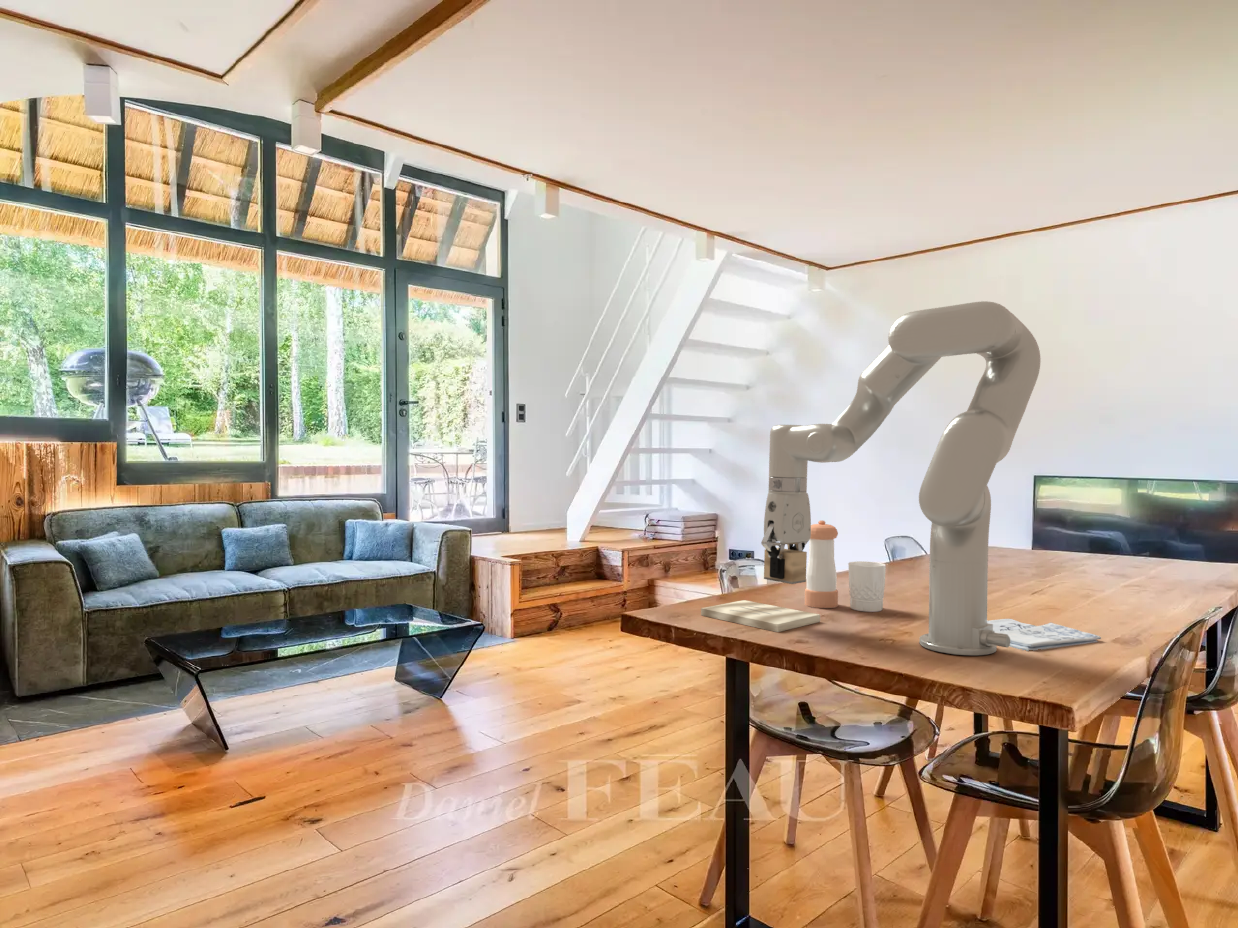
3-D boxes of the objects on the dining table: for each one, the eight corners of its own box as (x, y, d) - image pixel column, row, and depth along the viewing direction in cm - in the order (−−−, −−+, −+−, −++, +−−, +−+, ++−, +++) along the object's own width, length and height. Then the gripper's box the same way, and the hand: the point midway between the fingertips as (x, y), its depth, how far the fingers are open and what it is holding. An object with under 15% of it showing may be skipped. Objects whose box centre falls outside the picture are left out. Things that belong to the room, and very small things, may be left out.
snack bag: (1028, 655, 137) (1028, 642, 137) (940, 630, 155) (940, 619, 155) (1103, 645, 144) (1103, 633, 144) (1011, 622, 163) (1011, 612, 163)
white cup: (847, 611, 170) (848, 565, 170) (848, 604, 178) (848, 560, 178) (885, 613, 168) (886, 567, 168) (884, 606, 176) (885, 562, 175)
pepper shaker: (841, 608, 173) (842, 522, 173) (808, 608, 174) (809, 521, 173) (833, 601, 181) (834, 519, 180) (801, 601, 181) (802, 519, 181)
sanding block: (805, 581, 156) (806, 551, 156) (792, 584, 153) (793, 553, 153) (777, 576, 162) (778, 547, 162) (763, 578, 159) (764, 549, 159)
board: (820, 621, 160) (820, 614, 160) (777, 632, 151) (777, 624, 151) (743, 606, 175) (743, 599, 175) (701, 615, 166) (701, 608, 166)
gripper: (776, 488, 149) (773, 584, 149) (827, 486, 160) (825, 575, 160) (745, 486, 154) (743, 578, 155) (797, 484, 165) (794, 570, 166)
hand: (785, 575), depth 158 cm, fingers closed on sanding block, 4 cm apart
